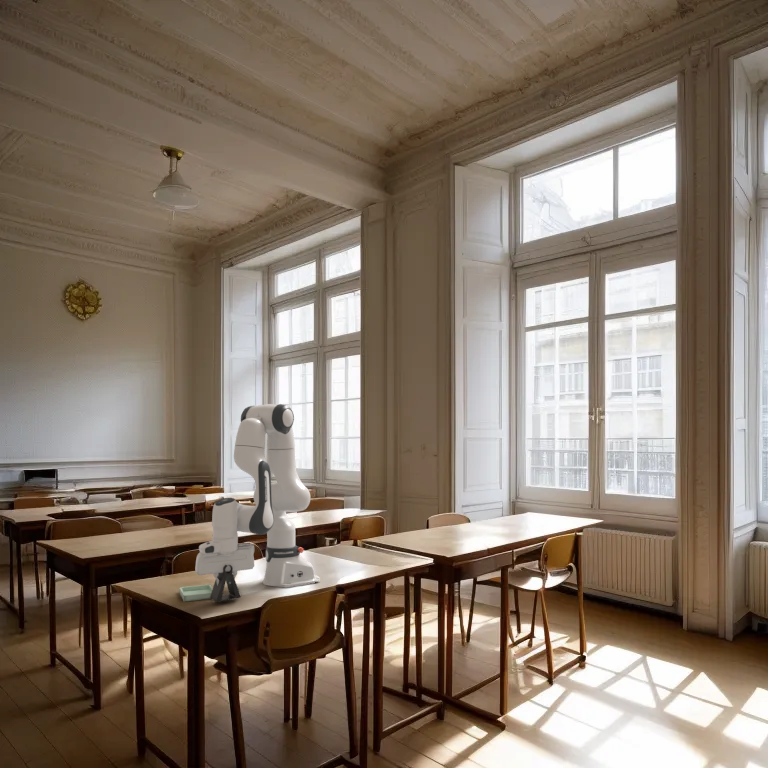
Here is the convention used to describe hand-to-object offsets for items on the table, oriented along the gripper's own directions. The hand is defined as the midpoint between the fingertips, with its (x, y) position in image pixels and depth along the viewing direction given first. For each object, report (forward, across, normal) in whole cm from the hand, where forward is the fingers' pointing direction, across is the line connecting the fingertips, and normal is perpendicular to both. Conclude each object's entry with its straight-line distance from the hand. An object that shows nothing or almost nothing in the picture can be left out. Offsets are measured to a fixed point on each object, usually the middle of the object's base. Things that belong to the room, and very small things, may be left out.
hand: (225, 584), depth 226 cm
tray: (+6, +8, -13) cm, 16 cm away
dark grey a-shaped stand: (+5, 0, 0) cm, 5 cm away
